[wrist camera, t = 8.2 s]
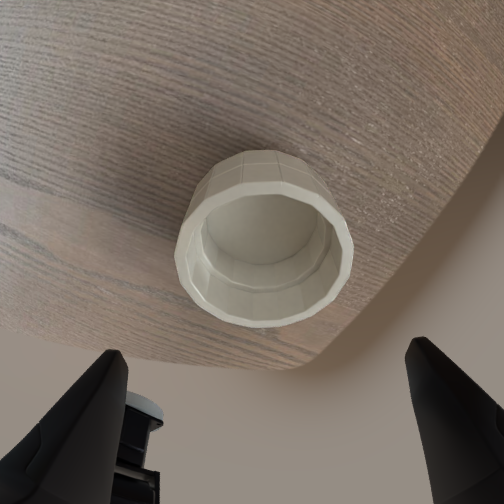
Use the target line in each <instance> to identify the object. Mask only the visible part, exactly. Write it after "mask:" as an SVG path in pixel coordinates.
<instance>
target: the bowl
mask: <svg viewBox="0 0 504 504" xmlns="http://www.w3.org/2000/svg"><path fill="white" fill-rule="evenodd" d="M353 253H354V245H353V242H352V239H351V236H350V233H349V230H348V227H347V224H346V221H345V219H344V217H343V215H342V213H341V211H340V209H339V207H338V205H337V203H336V201H335V199H334V198H333V196H332V194H331V192H330V190H329V188H328V186H327V184H326V183H325V181H324V180H323V178H322V177H321V176H320V175H319V174H318V173H316V172H315V171H314V170H313V169H312V168H311V167H310V166H309V165H308V164H307V163H306V162H304V161H303V160H302V159H299V158H296V157H294V156H291V155H288V154H286V153H283V152H280V151H277V150H254V151H244V152H241V153H238V154H236V155H234V156H232V157H230V158H228V159H225V160H223V161H221V162H219V163H217V164H215V165H214V166H213V167H212V168H211V170H210V171H209V172H208V173H207V174H206V175H205V176H204V177H203V179H202V180H201V181H200V182H199V183H198V184H197V186H196V189H195V191H194V194H193V196H192V199H191V201H190V204H189V207H188V209H187V212H186V214H185V217H184V220H183V222H182V225H181V228H180V232H179V236H178V240H177V243H176V247H175V251H174V259H175V263H176V268H177V272H178V277H179V281H180V283H181V285H182V286H183V288H184V289H185V290H186V291H187V293H188V294H189V295H190V297H191V298H192V299H193V301H194V302H195V303H196V304H197V305H198V306H199V307H201V308H202V309H204V310H205V311H207V312H209V313H210V314H212V315H214V316H215V317H217V318H218V319H220V320H223V321H225V322H229V323H233V324H237V325H241V326H245V327H249V328H251V327H252V328H264V327H281V326H286V325H289V324H292V323H295V322H298V321H301V320H304V319H307V318H309V317H311V316H313V315H314V314H315V313H317V312H318V311H320V310H321V309H322V308H324V307H325V306H326V305H328V304H329V303H331V302H332V301H333V300H334V299H335V298H336V296H337V295H338V293H339V292H340V290H341V289H342V287H343V286H344V284H345V283H346V281H347V280H348V278H349V276H350V272H351V265H352V259H353Z"/></svg>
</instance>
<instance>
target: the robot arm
mask: <svg viewBox="0 0 504 504" xmlns="http://www.w3.org/2000/svg"><path fill="white" fill-rule="evenodd" d="M405 363H406V369H407V374H408V381H409V387H410V393H411V399H412V404H413V408H414V412H415V416H416V420H417V424H418V428H419V432H420V437H421V441H422V445H423V450H424V454H425V459H426V464H427V469H428V474H429V480H430V485H431V491H432V497H433V503H434V504H504V409H502V407H501V406H500V405H498V404H497V403H496V402H495V401H494V400H493V399H492V398H491V397H490V396H489V395H488V394H487V393H486V392H485V391H484V390H483V389H482V388H481V387H480V386H479V385H478V384H476V383H475V382H474V381H473V380H472V379H471V378H470V377H469V376H468V375H467V374H466V373H465V372H464V371H462V370H461V368H459V367H458V366H457V365H456V364H455V363H454V362H453V361H452V360H451V359H450V358H449V357H447V356H446V355H445V354H444V353H443V352H442V351H441V350H440V349H439V348H438V347H436V346H435V345H434V344H433V343H432V342H431V341H430V340H429V339H428V338H426V337H416V338H413V339H412V341H411V343H410V345H409V348H408V350H407V352H406V354H405ZM127 380H128V366H127V363H126V362H125V360H124V358H123V356H122V354H121V352H120V351H119V350H113V349H108V350H106V351H105V352H104V353H103V354H102V355H101V356H100V357H99V358H98V359H97V360H96V361H95V362H94V363H93V364H92V365H91V366H90V367H89V368H88V369H87V370H86V372H85V373H84V374H83V375H82V376H81V377H80V378H79V379H78V380H77V381H76V382H75V383H74V384H73V385H72V386H71V387H70V389H69V390H68V391H67V392H66V393H65V394H64V395H63V396H62V397H61V398H60V399H59V401H58V402H57V403H56V404H55V405H54V406H53V407H52V408H51V409H50V410H49V411H48V412H47V413H46V415H45V416H44V417H43V418H42V419H41V420H40V421H39V423H38V424H36V426H35V427H34V428H33V429H32V430H31V431H30V432H29V433H28V434H27V435H26V436H25V438H23V440H21V441H20V442H19V443H18V444H17V445H16V446H15V447H14V448H13V449H12V450H11V451H10V452H9V453H8V454H7V455H5V456H4V457H3V458H2V459H1V460H0V504H160V502H159V501H160V497H159V496H160V495H159V494H160V472H157V471H150V470H147V469H144V463H145V457H146V451H147V445H148V440H149V434H150V432H151V431H153V430H155V429H157V428H159V427H161V426H163V421H162V420H160V419H157V418H155V417H153V416H151V415H148V414H146V413H144V412H141V411H139V410H137V409H135V408H133V407H131V406H128V405H126V404H125V402H126V391H127Z"/></svg>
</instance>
